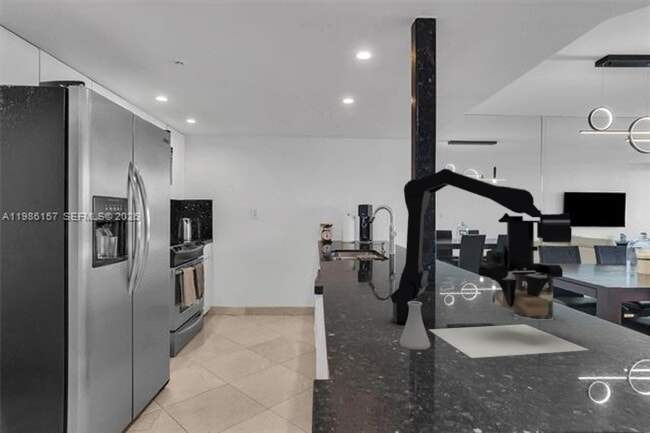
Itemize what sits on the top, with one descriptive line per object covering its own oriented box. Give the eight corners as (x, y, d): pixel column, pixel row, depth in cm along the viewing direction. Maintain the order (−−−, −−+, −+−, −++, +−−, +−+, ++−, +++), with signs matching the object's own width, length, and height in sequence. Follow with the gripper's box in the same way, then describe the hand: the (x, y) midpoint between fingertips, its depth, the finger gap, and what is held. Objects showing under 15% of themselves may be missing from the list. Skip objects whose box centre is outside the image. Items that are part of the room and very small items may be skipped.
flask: (432, 343, 87) (432, 300, 87) (430, 353, 80) (430, 307, 80) (400, 339, 89) (400, 298, 89) (396, 349, 82) (396, 304, 82)
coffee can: (557, 323, 103) (556, 272, 103) (515, 319, 107) (515, 271, 107) (550, 314, 113) (549, 268, 113) (512, 311, 117) (512, 266, 117)
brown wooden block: (548, 315, 84) (548, 299, 84) (528, 316, 83) (528, 300, 83) (512, 303, 96) (512, 289, 96) (495, 303, 95) (495, 290, 95)
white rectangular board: (471, 360, 76) (471, 357, 76) (428, 331, 96) (428, 329, 96) (589, 352, 81) (589, 349, 81) (525, 326, 100) (525, 324, 100)
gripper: (530, 239, 99) (530, 298, 99) (466, 239, 96) (466, 300, 96) (564, 242, 88) (564, 308, 88) (492, 242, 85) (492, 311, 85)
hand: (520, 306), depth 89 cm, fingers closed on brown wooden block, 5 cm apart
